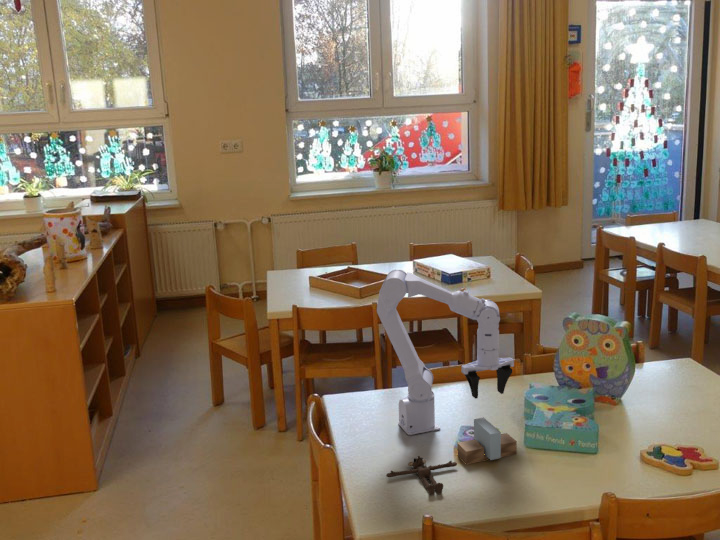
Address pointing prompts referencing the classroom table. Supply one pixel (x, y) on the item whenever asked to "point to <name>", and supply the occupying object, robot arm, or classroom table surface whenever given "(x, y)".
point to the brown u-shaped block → (475, 451)
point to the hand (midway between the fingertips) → (487, 394)
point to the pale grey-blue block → (488, 438)
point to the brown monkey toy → (424, 474)
